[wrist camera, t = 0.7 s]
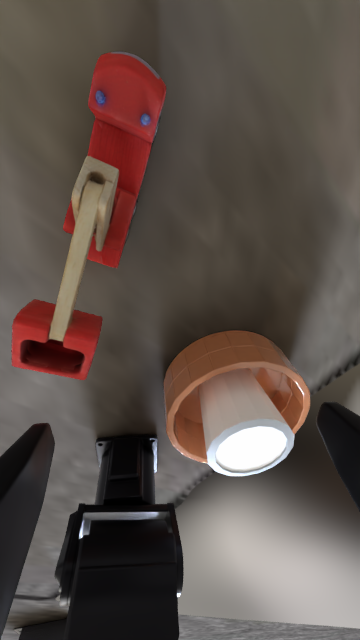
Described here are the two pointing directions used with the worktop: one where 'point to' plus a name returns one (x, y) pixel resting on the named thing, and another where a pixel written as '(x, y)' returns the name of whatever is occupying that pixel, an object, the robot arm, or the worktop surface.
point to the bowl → (219, 358)
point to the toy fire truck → (95, 213)
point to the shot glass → (242, 425)
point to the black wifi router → (43, 631)
